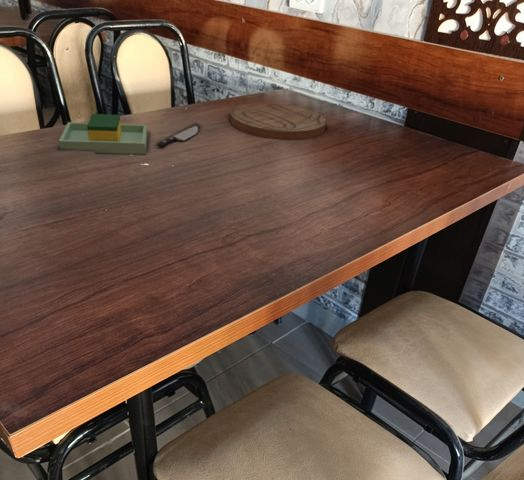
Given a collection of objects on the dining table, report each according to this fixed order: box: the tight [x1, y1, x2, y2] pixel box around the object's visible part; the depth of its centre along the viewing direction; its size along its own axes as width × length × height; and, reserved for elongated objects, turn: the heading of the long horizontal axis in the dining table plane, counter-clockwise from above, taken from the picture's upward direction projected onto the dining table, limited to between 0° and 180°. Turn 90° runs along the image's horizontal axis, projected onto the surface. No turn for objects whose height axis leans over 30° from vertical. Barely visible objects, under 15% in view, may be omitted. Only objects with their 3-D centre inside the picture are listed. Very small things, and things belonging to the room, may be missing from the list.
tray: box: [58, 121, 148, 155], centre depth 111 cm, size 17×13×2 cm
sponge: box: [87, 113, 122, 142], centre depth 110 cm, size 6×9×4 cm, turn 8°
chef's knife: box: [157, 125, 199, 148], centre depth 118 cm, size 19×1×3 cm
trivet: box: [230, 102, 327, 140], centre depth 132 cm, size 25×25×2 cm
